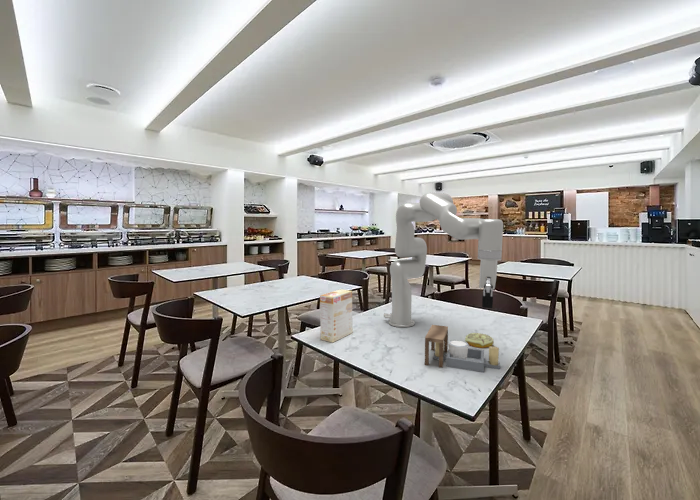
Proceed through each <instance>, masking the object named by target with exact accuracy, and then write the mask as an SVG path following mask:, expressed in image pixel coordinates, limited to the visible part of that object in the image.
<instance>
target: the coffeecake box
mask: <svg viewBox="0 0 700 500" xmlns="http://www.w3.org/2000/svg"><path fill="white" fill-rule="evenodd" d="M319 309H320V310H319V314H320V316H319V317H320V318H319V319H320V322H319V323H320V340H322V341H325V342H328V343H335V342H337V341H339V340H341V339H343V338H346V337H348V336H349V335H352V334H353V333H354V332H353V290H348V289H341V288H340V289H337V290H333V291H330V292H326V293H324V294H320V295H319Z"/></svg>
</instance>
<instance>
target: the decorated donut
mask: <svg viewBox="0 0 700 500" xmlns="http://www.w3.org/2000/svg"><path fill="white" fill-rule="evenodd" d="M464 341H465V342H467V343H468V344H469V345H468V346H470V347H472V348H476V349H486V348H487V349H489V347H490V346H494V338H493V337H492V336H490V335H488V334H486V333H478V332H471V333H468V334H467V335H465V338H464Z"/></svg>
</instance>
